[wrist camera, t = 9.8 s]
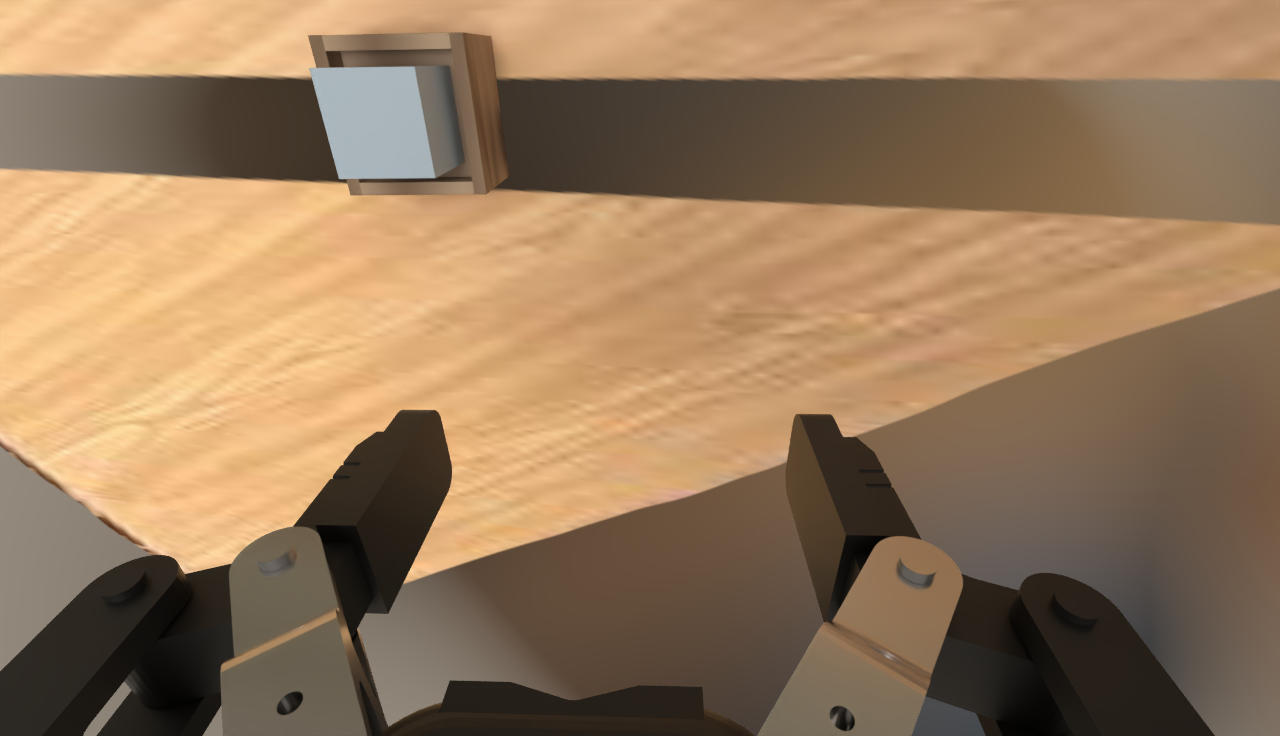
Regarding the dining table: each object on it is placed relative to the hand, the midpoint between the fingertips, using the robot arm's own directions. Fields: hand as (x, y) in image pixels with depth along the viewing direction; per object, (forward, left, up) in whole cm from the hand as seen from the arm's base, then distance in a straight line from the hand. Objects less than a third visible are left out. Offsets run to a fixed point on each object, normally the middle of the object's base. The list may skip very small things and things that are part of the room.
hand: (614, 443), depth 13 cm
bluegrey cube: (+13, -5, -24) cm, 28 cm away
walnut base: (+13, -5, -28) cm, 31 cm away
